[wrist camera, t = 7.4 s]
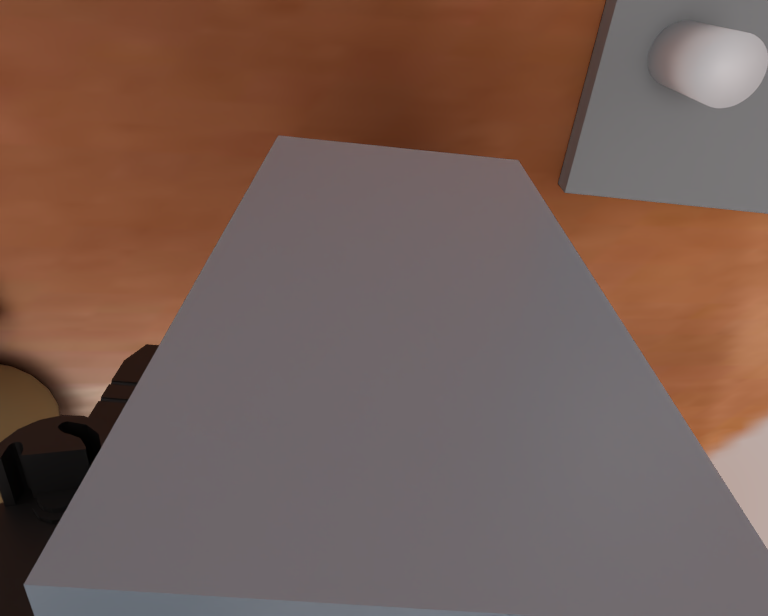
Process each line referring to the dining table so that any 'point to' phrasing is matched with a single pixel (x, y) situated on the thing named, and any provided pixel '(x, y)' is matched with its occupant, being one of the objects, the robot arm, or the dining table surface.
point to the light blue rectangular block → (398, 422)
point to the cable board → (675, 106)
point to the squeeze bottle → (22, 401)
